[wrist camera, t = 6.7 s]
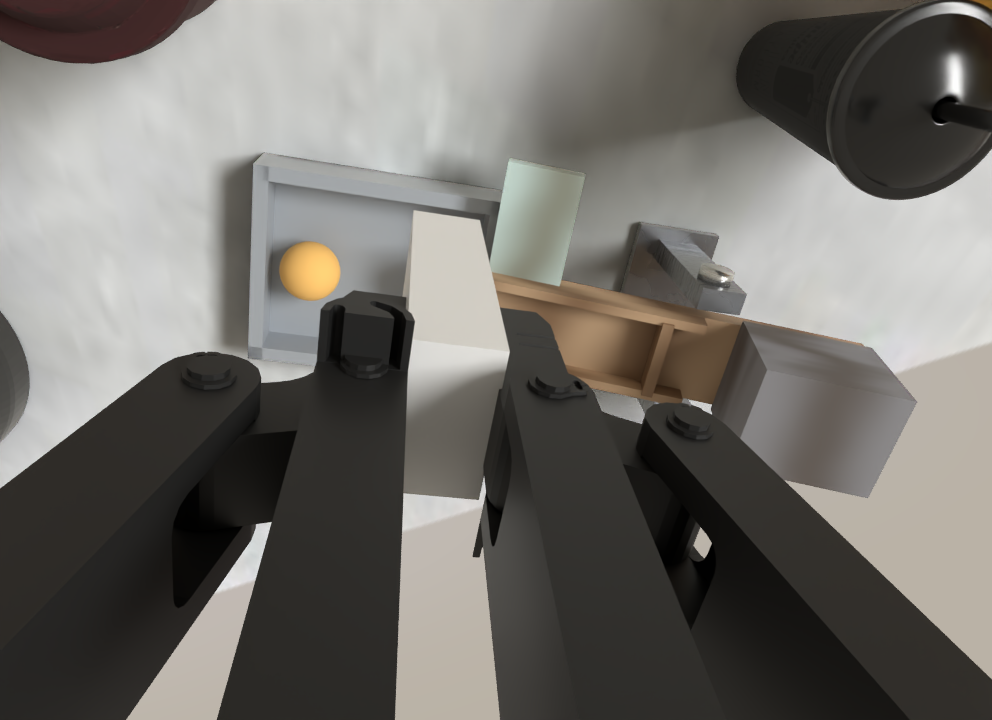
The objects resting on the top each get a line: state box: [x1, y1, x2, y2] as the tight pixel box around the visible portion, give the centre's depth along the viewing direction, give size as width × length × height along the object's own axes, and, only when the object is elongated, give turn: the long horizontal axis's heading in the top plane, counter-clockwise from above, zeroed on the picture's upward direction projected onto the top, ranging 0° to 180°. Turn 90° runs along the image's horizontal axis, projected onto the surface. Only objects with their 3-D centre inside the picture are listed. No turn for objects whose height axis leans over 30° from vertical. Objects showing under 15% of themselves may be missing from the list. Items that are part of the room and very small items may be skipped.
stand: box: [620, 222, 747, 413], centre depth 43 cm, size 5×10×9 cm, turn 170°
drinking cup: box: [736, 0, 992, 200], centre depth 32 cm, size 8×8×20 cm
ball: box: [279, 241, 340, 301], centre depth 42 cm, size 3×3×3 cm
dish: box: [248, 153, 503, 366], centre depth 43 cm, size 14×12×3 cm
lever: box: [490, 158, 917, 498], centre depth 37 cm, size 24×11×7 cm, turn 80°
